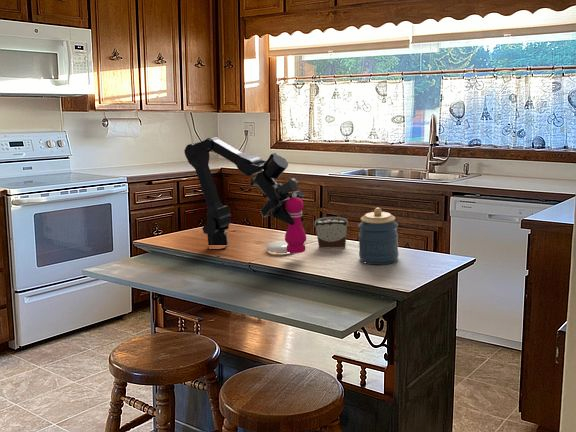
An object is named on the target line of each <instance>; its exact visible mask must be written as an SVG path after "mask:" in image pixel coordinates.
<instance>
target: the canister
mask: <svg viewBox="0 0 576 432" xmlns="http://www.w3.org/2000/svg"><path fill="white" fill-rule="evenodd" d="M395 220H396V216H394V215H392V214H391V213H390V212H386V211H382V208H380V207H375V208H374V210H373V211H370V212H367V213H365V214H364V215H363V216H361V217H360V222H359V224H358V225H357V226H358V228H359V233H358V242H359V243H358V245H359V247H358V248H359V252H358V256H359V260H360V261H361V262H362V263H364V262H366V263H370V264H369V265H372V264H385V265H389V264H393V263H396V262H397V261H398V259H399V241H398V240H399V233H398V232H397V230H398V229H397V228H398V227H399V223H398V222H396V221H395ZM366 263H365V264H366Z"/></svg>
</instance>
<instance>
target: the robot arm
mask: <svg viewBox="0 0 576 432" xmlns="http://www.w3.org/2000/svg"><path fill="white" fill-rule="evenodd" d="M211 152H214V153H216V154H217V155H219V156H221V157H223V158H224V159H225V160H227V161H229V162H231V163H232V164H234V165H235V166H236V167H237V170H238V171H240V172H241V173H242V174H243V175H244V176H246V177H250V176H254V175H255V176H254V177H251V178H250V183H249V184H250V185H249V186H250V187H254V186H257V187H258V188H259V189H260V191H261V192H262V193H263V194H264V195H263V196H262V197H263V198H264V199H268V201H266V203H264V205H263V206H262V207H261V209H260V214H261V216H263V218H266V217H269V216H270V217H271V218H276V219H278V220H281V221H282V222H284V223H287V224H288V225H289V224H291V225H294V224H295V223H294V221H293V219H292V218H291V216H290V215H289V214H288V210H287V209H286V206H285V204H286V201H287V200H288V199H289V198H291V197H292V196H291V195H292V193H296V194H297V196H296V197H298V198H300V199H301V200H302V199H303V197H305V193H303V191H302V190H299V183H300V182H299V181H298V180H297V179H296V178H295V177H293V178H290V179H288V180H287V182H285V183H281V182H278V183H277V181H276V179H277V180H278V179H279V178H280V177H281V175H282V174H283V173H284V172H285V170H286V169H287V168H288V166H289V162H288V161H287V159H286V158H284V157H282V156H281V155H278V154H277V153H276V152H274V153H273V152H272V153H271V154H270V155H269V156H268V159H266V160H263V159H262V158H261V157H260V156H257V155H254V154H250V153H245V152H242V151H240V150H239V149H237V148H235V147H234V146H232V145H230V144H229V143H226V142H224V141H223V140H221V139H220V138H219V137H217V136H212V137H208V138H206V139H203V140H202V141H200V142H199V141H198V142H194V143H190V144H189V143H188V144H187V145H186V146H185V148H184V156H185V158H186V160H187V162H188V164H190V165H191V167H192V168H193V169H194V170H195V173H196V176H197V179H198V182H199V185H200V187H201V190H202V194H203V197H204V200H205V202H206V205H207V209H206V214H205V215H206V221H207V222H206V223H204V225H203V226H202V232H203V234H205V235H207V244H208V245H227V244H229V242H228V234H227V233H226V231H227V230H229V227H230V224H231V222H232V214H231V212H230V207H229V206H228V205H224V204H223V203H222V202H221V199H220V197H219V193H218V191H217V187H216V185H215V181H214V179H213V176H212V173H211V170H210V169H211V168H210V166H209V163H210V158H211V157H210V156H211V155H210V153H211ZM270 212H271V213H270ZM304 220H305V219H304V216H303V215H302V216H301V222H303V221H304ZM208 245H207V246H208ZM227 246H228V245H227Z"/></svg>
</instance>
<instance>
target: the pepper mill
mask: <svg viewBox="0 0 576 432" xmlns="http://www.w3.org/2000/svg"><path fill="white" fill-rule="evenodd" d="M291 193H292V192H291ZM290 195H291V194H290ZM291 196H292V197H291V198H289V199H288V200H287V201H286V204H285V207H286V210H288V211H287V212H288V214H289V215H290V216H291V218H292V219H293V221H294V223H295V224H294V225H291V224H289V223H288V226H287V228H286V229H287V230H286V232H285V233H284V241H286V242H287V243H288V245H287V251H288V252H290V253H292V254H301V253H303V252H305V251H306V244H305V242H306V241H307V234H306V230H305V229H304V227H303V224H302V221H301V216H303V211H302V210H303V209H304V202H303V199H302V198H301V199H300V198H298V197H296V196H297V194H296V193H292V195H291Z"/></svg>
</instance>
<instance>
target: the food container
mask: <svg viewBox="0 0 576 432" xmlns="http://www.w3.org/2000/svg"><path fill="white" fill-rule="evenodd" d="M348 226H350V225H349V221H348V219H347V218H344V217H341V216H326V217H320V218H317V219H316V220H315V221H314V224H313V227H314V228H315V229H316V230H315V231H316V238H317V243H318V249H339V248H341V249H342V248H343V249H344V248H346V245H347V243H346V242H347V232H348V229H347V228H348Z"/></svg>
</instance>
